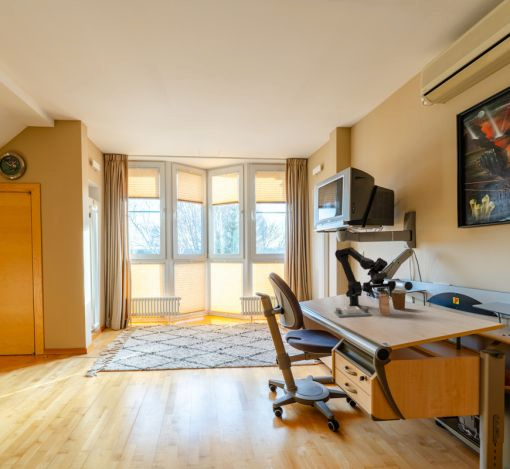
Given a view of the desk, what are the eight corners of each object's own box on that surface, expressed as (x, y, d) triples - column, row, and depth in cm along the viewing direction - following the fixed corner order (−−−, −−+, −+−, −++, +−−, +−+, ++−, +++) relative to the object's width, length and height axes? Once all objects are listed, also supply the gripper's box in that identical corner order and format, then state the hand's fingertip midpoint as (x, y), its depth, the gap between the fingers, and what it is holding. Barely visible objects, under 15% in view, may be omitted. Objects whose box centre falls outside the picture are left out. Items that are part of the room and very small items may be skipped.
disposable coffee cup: (408, 310, 210) (406, 289, 210) (391, 310, 213) (389, 290, 213) (407, 307, 219) (405, 287, 219) (390, 307, 222) (389, 287, 222)
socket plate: (334, 312, 215) (334, 306, 215) (364, 311, 214) (364, 305, 214) (338, 317, 201) (338, 310, 201) (371, 315, 200) (370, 309, 200)
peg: (379, 313, 204) (378, 294, 205) (387, 313, 204) (386, 294, 204) (382, 315, 200) (380, 295, 200) (390, 314, 200) (388, 295, 200)
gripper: (361, 268, 210) (368, 289, 199) (393, 266, 210) (402, 287, 198) (359, 280, 218) (365, 301, 206) (390, 279, 217) (398, 299, 206)
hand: (382, 297), depth 204 cm, fingers open, 9 cm apart
